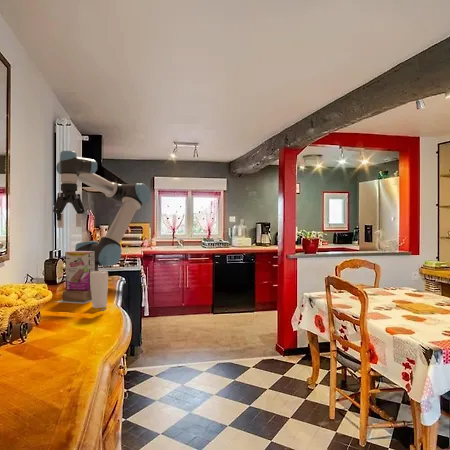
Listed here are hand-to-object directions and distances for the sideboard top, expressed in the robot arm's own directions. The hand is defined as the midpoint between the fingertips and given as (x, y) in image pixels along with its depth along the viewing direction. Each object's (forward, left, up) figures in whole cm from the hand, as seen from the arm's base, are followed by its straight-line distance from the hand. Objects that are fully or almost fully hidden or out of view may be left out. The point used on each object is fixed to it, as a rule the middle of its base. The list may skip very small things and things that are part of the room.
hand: (70, 227), depth 187 cm
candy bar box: (+19, +19, -26) cm, 38 cm away
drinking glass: (+29, +35, -32) cm, 56 cm away
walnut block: (+19, +19, -30) cm, 40 cm away
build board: (+19, +19, -32) cm, 42 cm away
